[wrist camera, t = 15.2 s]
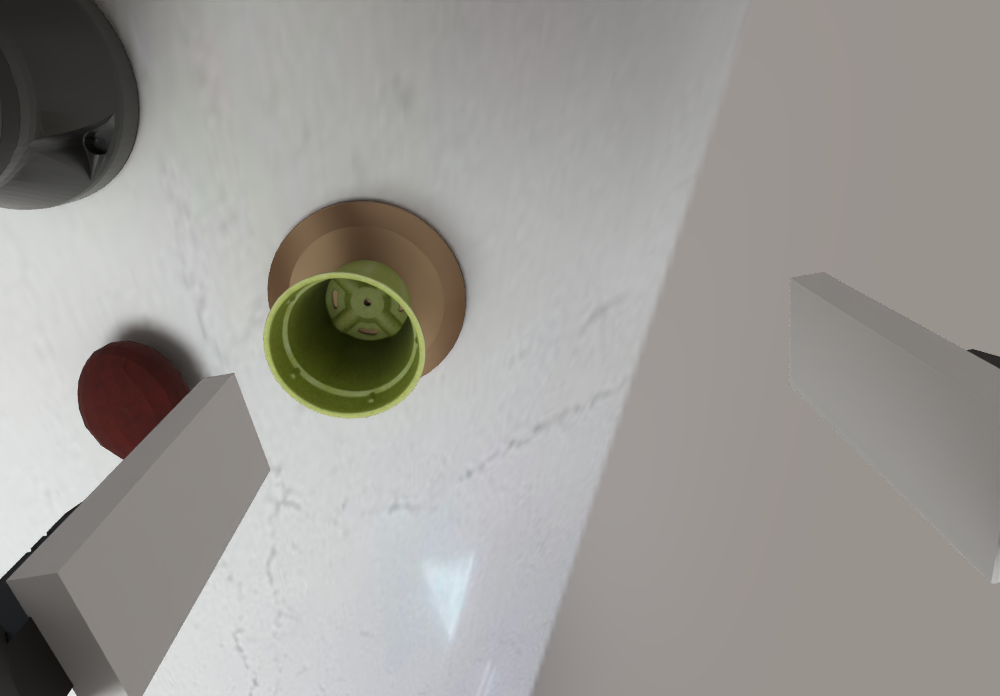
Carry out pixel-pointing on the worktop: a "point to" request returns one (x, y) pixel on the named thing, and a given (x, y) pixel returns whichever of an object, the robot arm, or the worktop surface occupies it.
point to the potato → (127, 394)
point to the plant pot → (346, 341)
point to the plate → (388, 241)
